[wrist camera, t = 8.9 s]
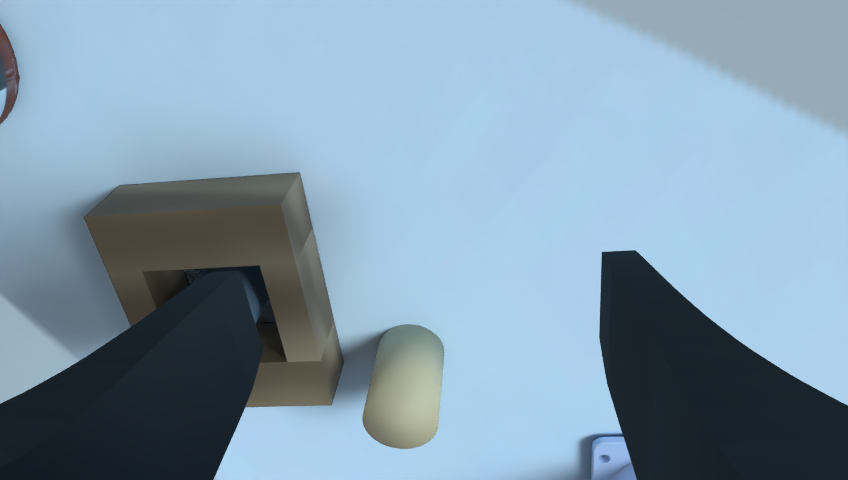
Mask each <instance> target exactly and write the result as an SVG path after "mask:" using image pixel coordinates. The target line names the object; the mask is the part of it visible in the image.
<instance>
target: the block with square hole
mask: <svg viewBox="0 0 848 480" xmlns="http://www.w3.org/2000/svg"><path fill="white" fill-rule="evenodd" d="M84 219H85V221H86V223H87V226H88V228H89V230H90V233H91V235H92V237H93V240H94V242H95V244H96V247H97V249H98V251H99V253H100V256H101V258H102V260H103V263H104V265H105V267H106V270H107V272H108V274H109V277H110V279H111V281H112V284H113V286H114V288H115V291H116V293H117V295H118V297H119V300H120V302H121V304H122V307H123V309H124V311H125V314H126V316H127V318H128V321H129V323H130V325H131V327H132V326H133V325H135V324H136V323H138V322H139V321H140V320H142V319H143V318H145V317H146V316H147V315H149V314H150V313H152V312H153V311H154V310H156V309H157V308H159V307H160V306H161V305H163V304H164V303H166V302H167V301H168V300H170V299H171V298H173V297H174V296H175V295H177V294H178V293H180V292H181V291H182V290H184V289H185V288H187V287H188V286H189V284H188V281H187V278H186V276H185V273H184V270H183V269H200V268H219V267H238V266H257V265H260V268H261V272H262V275H263V278H264V282H265V285H266V289H267V292H268V296H269V299H270V303H271V306H272V310H273V313H274V317H275V320H276V323H256V328H257V331H258V334H259V337H260V340H261V344H262V347H263V352H262V356H261V359H260V363H259V367H258V371H257V375H256V378H255V382H254V385H253V389H252V392H251V394H250V397H249V399H248V402H247V404H246V406H245V407H271V406H315V405H332V402H333V399H334V395H335V392H336V388H337V385H338V381H339V378H340V374H341V371H342V367H343V364H344V362H343V357H342V353H341V349H340V344H339V340H338V336H337V331H336V327H335V323H334V318H333V314H332V310H331V305H330V301H329V297H328V292H327V288H326V284H325V279H324V275H323V271H322V266H321V262H320V258H319V253H318V249H317V245H316V240H315V236H314V232H313V227H312V223H311V219H310V214H309V210H308V206H307V201H306V197H305V193H304V188H303V184H302V180H301V175H300V173H286V174H272V175H258V176H244V177H230V178H216V179H202V180H188V181H174V182H160V183H146V184H132V185H120V186H119V187H117V188H116V189H115V190H114V191H113V192H112V193H111V194H109V195H108V196H107V197H106V198H105V199H104V200H103V201H102V202H100V203H99V204H98V205H97V206H96V207H95V208H94V209H93V210H91V211H90V212H89V213H88V214H87V215H86V216H85V217H84Z"/></svg>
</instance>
